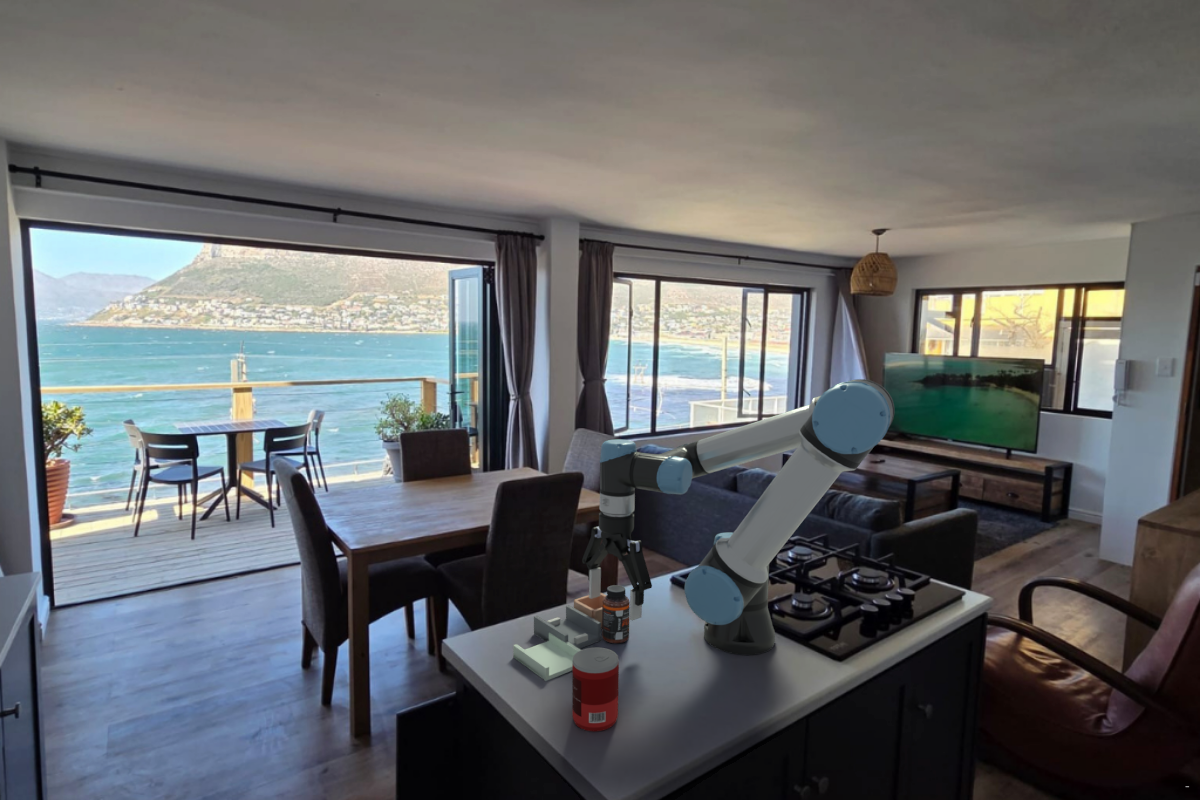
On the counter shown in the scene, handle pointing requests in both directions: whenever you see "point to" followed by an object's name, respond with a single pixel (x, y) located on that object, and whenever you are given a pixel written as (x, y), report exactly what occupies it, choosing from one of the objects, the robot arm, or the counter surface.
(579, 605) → the open cardboard box
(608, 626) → the supplement bottle
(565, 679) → the counter surface
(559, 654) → the trough
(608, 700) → the canned food
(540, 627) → the checker cradle
